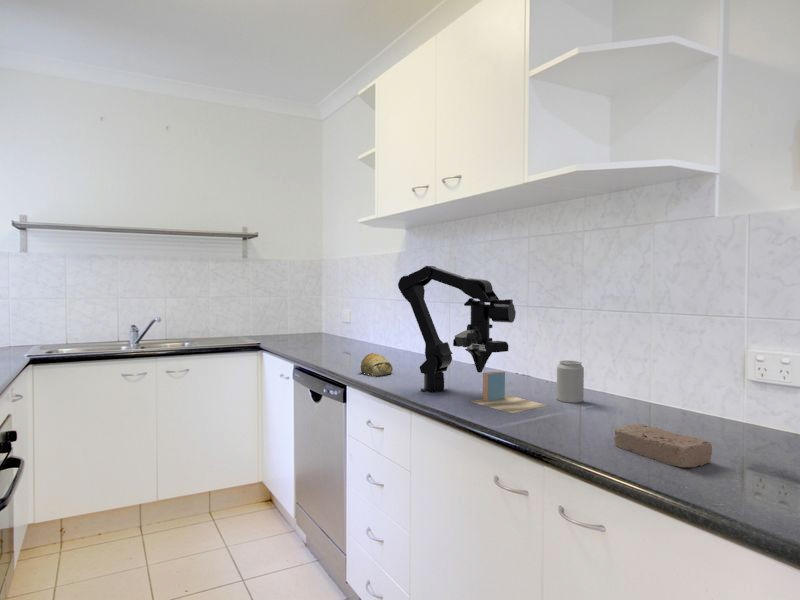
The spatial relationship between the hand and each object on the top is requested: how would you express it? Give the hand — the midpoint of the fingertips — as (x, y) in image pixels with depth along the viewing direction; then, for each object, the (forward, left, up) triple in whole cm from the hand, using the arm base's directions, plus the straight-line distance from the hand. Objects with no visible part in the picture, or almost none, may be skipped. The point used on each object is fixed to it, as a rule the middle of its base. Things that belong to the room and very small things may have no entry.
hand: (479, 372), depth 152 cm
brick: (+58, -5, -8) cm, 59 cm away
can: (+19, +18, -8) cm, 28 cm away
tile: (+6, 0, -7) cm, 9 cm away
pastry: (-53, -4, -8) cm, 54 cm away
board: (+12, 0, -8) cm, 14 cm away
